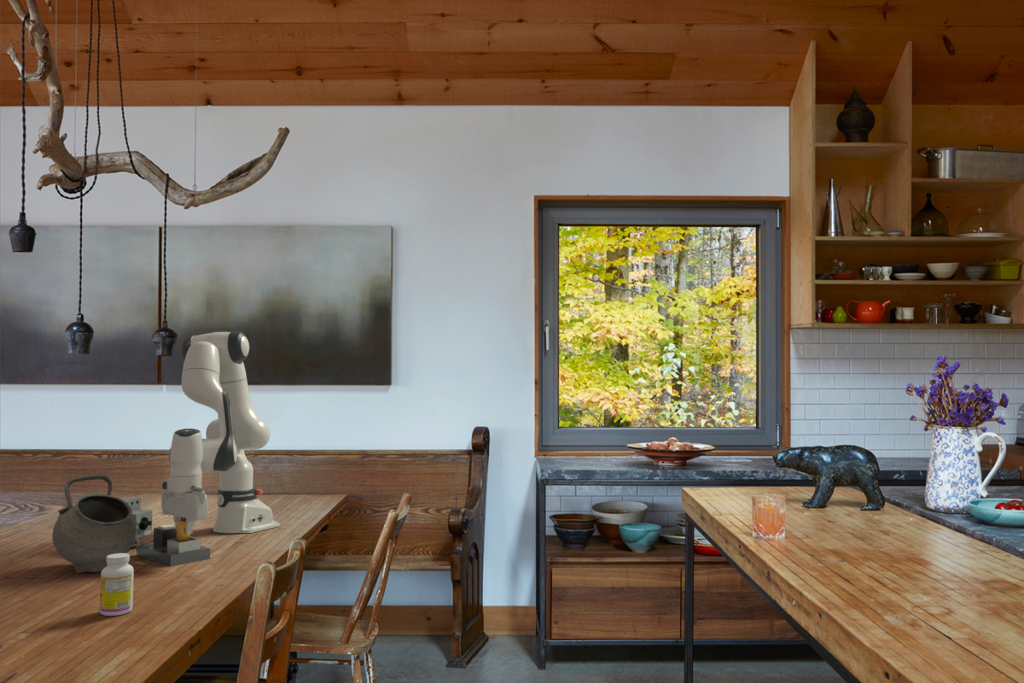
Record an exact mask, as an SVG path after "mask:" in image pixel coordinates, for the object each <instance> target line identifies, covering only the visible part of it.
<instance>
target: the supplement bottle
mask: <svg viewBox="0 0 1024 683" xmlns="http://www.w3.org/2000/svg"><path fill="white" fill-rule="evenodd" d="M129 561H130V553H128V552H127V553H118V554H111V555H108V556H107V558H106V562H107V567H105V568H104V569H103V570H102V571H100V572H101V573H100V596H99V598H100V599H99V613H100V614H101V615H102V616H106V617H117V616H122V615H126V614H127V613H130V612H131V611H132V610H133V608H134V607H133V605H134V604H133V603H134V579H135V578H134V575H135V574H134V573H135V570H134V567H133V566H132V565H131V564H129Z"/></svg>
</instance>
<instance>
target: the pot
mask: <svg viewBox="0 0 1024 683" xmlns="http://www.w3.org/2000/svg"><path fill="white" fill-rule="evenodd" d="M93 480H102V481H105V482H106V483H107V486H108V489H107V493H91V494H85V495H82V496H81V497H79V498H77V500H75V503H74V502H73V500H72V496H71V492H70V486H71V485H72V484H74V483H79V482H84V481H93ZM112 491H113V481H112V480H111V478H110V477H109V476H107V475H106V474H105V475H104V474H101V473H100V474H90V475H89V474H88V475H81V476H77V477H73V478H71V479H69V480H67V482H66V483H65V485H64V495H65V499H66V501H67V506H65V507H63V508H62V509H61V508H60V509H58V510H57V512H58V513H59V515H58V518H57V520H56V521H55V523H54V526H53V528H52V538H51V539H52V544H53V546H54V548H55V551H57V553H58V554H59V555H60V557H61V558H63V559H64V560H65V561H67V562H69V563H70V564H72V565H73V566H74V571H75V572H76V573H77V574H80V573H88V572H90V573H98V572H102V570H103V569H104V568H105V567H107V562H106V558H107V556H108V555H111V554H118V553H127V554H128V553H129V552H130V550H131V547H132V545H133V543H134V539H135V533H136V525H135V523H134V522H133V520H132V519H131V518H130V517H131V515H132V509H131V507H130V506H129V505H128V504H127V503H126V502H125V501H124V500H122V499H120V498H118V497H119V496H113V495H112ZM73 503H74V504H73ZM132 548H133V547H132Z"/></svg>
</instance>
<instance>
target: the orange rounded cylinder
mask: <svg viewBox="0 0 1024 683" xmlns="http://www.w3.org/2000/svg"><path fill="white" fill-rule="evenodd" d="M186 525H187V522H186V518H182V517H180V520H178V521H177V540H176V541H178V542H184V541H190V536H191V534H186V533H184V527H186Z"/></svg>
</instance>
